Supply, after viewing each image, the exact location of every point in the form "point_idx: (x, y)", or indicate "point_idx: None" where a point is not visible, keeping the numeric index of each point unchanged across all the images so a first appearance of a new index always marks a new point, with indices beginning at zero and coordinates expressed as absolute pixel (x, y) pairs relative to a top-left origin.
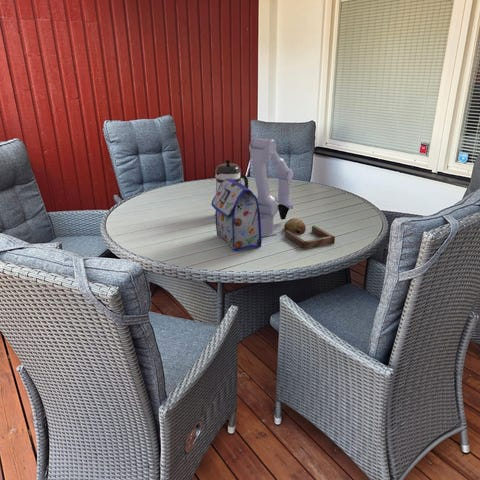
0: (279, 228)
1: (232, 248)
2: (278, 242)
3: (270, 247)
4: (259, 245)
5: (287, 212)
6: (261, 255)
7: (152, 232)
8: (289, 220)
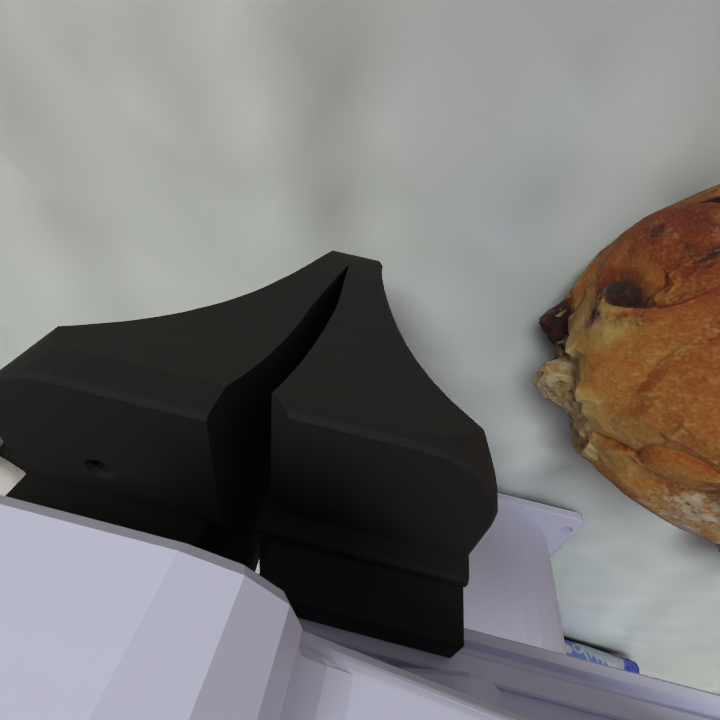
0: (478, 398)
1: None
2: (702, 585)
3: (689, 636)
4: (625, 668)
5: (394, 325)
6: (699, 686)
7: None
8: (681, 483)
